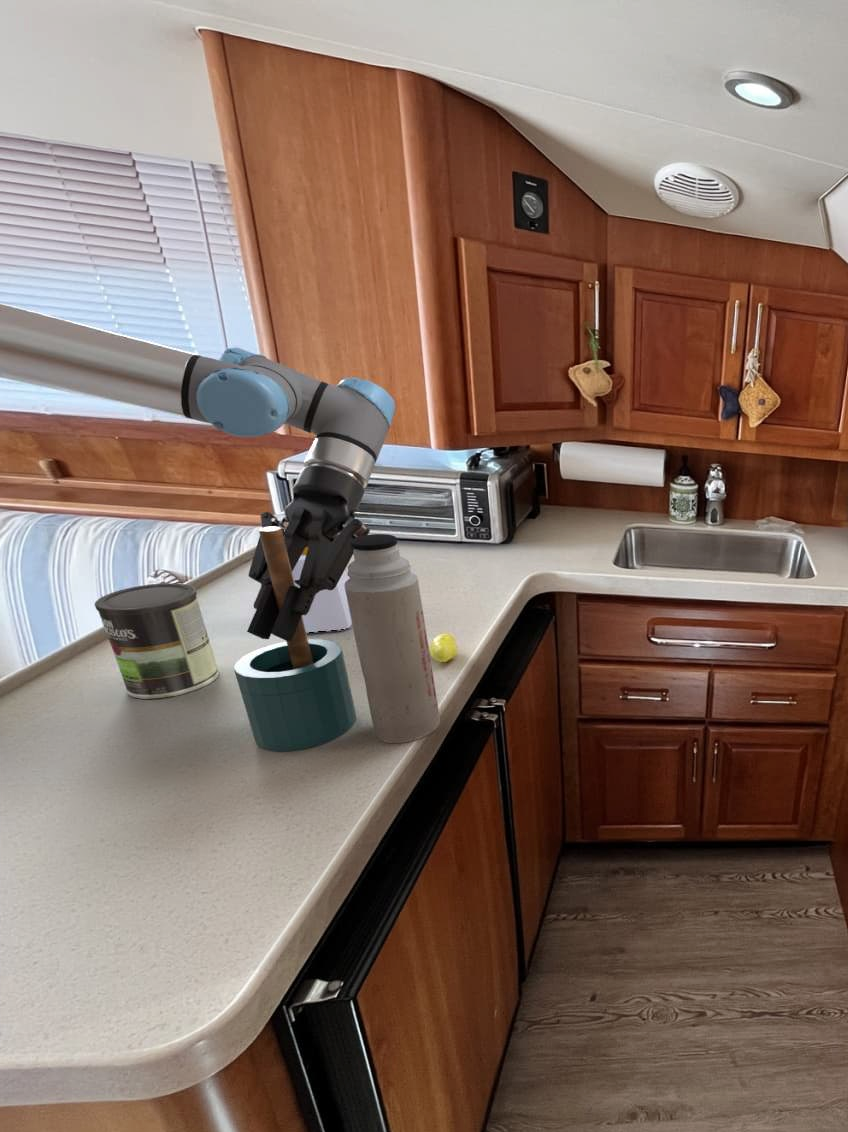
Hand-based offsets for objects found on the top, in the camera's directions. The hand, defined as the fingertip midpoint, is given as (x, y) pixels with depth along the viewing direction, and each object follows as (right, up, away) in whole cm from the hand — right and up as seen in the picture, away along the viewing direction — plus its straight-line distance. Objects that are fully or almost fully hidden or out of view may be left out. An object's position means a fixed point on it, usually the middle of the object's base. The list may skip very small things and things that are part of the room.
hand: (269, 636), depth 79 cm
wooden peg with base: (-1, -11, +9) cm, 14 cm away
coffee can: (-28, -8, +16) cm, 33 cm away
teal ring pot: (-2, -13, +8) cm, 16 cm away
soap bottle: (-20, -1, +36) cm, 41 cm away
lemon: (+6, -6, +29) cm, 30 cm away
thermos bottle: (+11, -14, +10) cm, 20 cm away
